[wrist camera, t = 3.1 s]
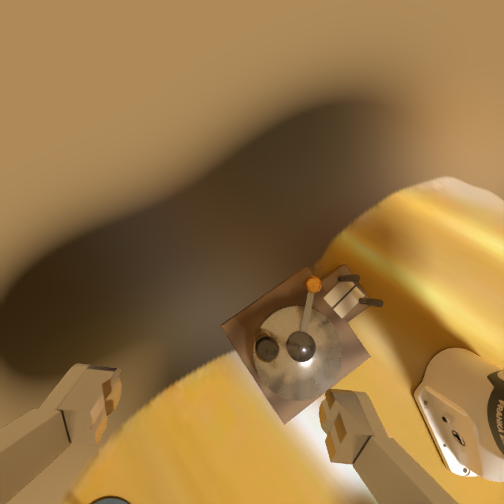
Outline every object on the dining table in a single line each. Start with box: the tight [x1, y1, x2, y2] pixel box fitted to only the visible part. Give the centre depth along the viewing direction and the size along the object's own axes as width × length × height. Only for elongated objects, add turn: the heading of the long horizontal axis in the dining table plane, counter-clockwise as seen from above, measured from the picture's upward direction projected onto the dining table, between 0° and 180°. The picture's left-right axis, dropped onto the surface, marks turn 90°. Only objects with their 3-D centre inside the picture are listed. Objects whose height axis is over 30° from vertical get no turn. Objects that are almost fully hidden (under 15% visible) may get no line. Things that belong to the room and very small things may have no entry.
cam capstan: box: [253, 276, 343, 401], centre depth 38 cm, size 17×22×11 cm
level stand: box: [221, 264, 383, 425], centre depth 42 cm, size 20×26×8 cm
